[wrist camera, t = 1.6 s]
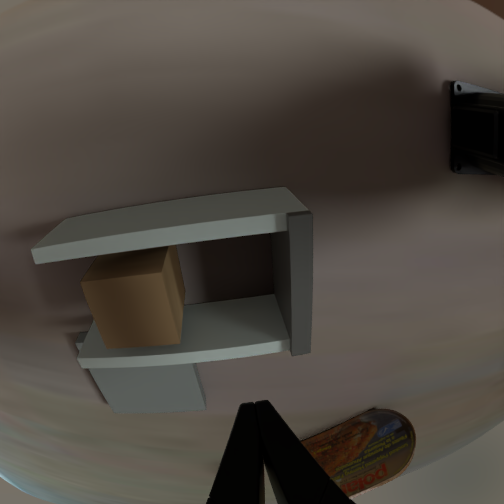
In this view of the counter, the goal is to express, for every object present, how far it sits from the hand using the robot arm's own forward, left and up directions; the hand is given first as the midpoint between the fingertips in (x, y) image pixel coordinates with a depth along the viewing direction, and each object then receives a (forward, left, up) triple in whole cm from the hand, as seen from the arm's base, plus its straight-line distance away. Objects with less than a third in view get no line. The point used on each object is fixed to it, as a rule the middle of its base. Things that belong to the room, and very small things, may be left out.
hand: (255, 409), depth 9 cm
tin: (-8, +23, -11) cm, 27 cm away
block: (+5, 0, -11) cm, 12 cm away
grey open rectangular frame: (+3, 0, -11) cm, 11 cm away
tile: (+8, +9, -11) cm, 16 cm away
